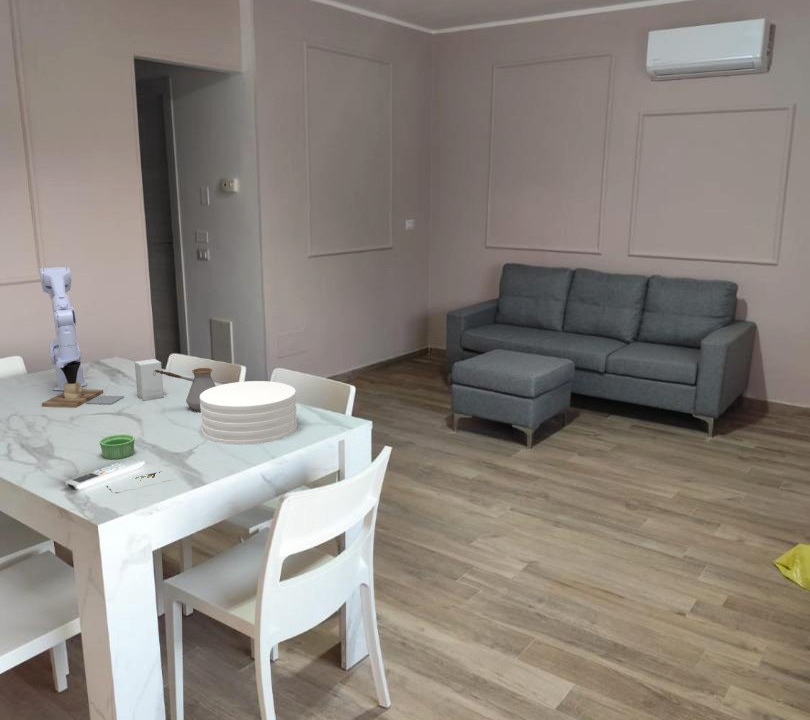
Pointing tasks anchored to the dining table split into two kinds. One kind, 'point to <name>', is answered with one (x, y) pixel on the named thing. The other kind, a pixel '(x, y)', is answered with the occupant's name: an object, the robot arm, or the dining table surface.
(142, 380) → the supplement box
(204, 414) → the plate stack
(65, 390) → the beech block
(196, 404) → the coffee pot
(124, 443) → the ramekin
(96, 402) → the slate rubber mat
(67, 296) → the robot arm
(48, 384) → the dining table surface
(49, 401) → the walnut pocket board
